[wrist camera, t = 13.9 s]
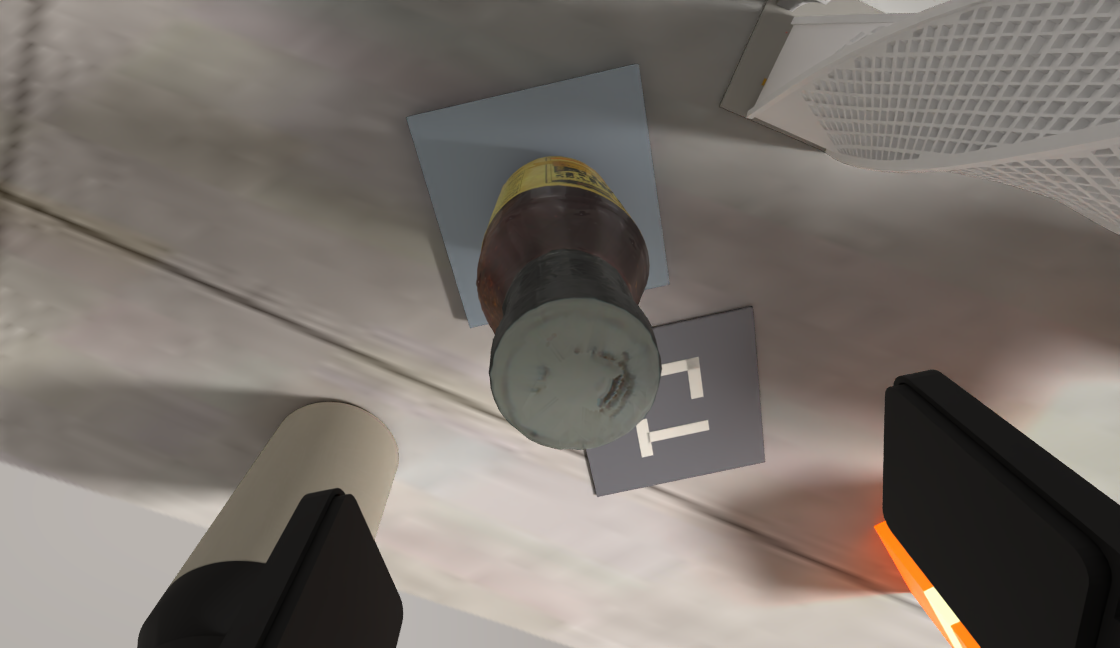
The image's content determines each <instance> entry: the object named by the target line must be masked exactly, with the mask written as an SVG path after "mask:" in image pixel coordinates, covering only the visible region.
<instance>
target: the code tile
mask: <svg viewBox="0 0 1120 648" xmlns="http://www.w3.org/2000/svg"><path fill="white" fill-rule="evenodd" d="M652 329H653V332H654V335H655V338H656V342H657V346H658V351H659V353H660V356H661V363H662V372H661V378H660V383H659V388H658V391H657V394H656V398H655V401H654V403H653V405H652V407H651V409H650V411H649V412H648V413H647V415H646V416H645V418H644V419H643V420H642V421H641V422H640V423H639V424H637V425H636V426H635V427H634V428H633V429H632V430H631V431H630V432H629V433H627V434H625V435H624V436H622V437H620V438H618V439H616V440H615V441H613V442H611V443H609V444H606V445H603V446H600V447H597V448H592V449H586V451H587V455H588V460H589V464H590V468H591V473H592V477H593V481H594V485H595V490H596V494H597V497H599V496H604V495H609V494H614V493H619V492H624V491H628V490H633V489H638V488H643V487H648V486H652V485H657V484H662V483H667V482H672V481H677V480H681V479H686V478H691V477H696V476H701V475H705V474H710V473H715V472H720V471H725V470H730V469H734V468H739V467H744V466H749V465H754V464H758V463H763V462H765V454H764V441H763V428H762V416H761V403H760V390H759V377H758V365H757V352H756V339H755V327H754V314H753V307H752V306H750V307H745V308H741V309H736V310H732V311H727V312H722V313H718V314H713V315H708V316H704V317H699V318H695V319H690V320H685V321H681V322H676V323H671V324H667V325H662V326H658V327H653V328H652Z"/></svg>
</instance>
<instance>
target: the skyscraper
mask: <svg viewBox="0 0 1120 648" xmlns="http://www.w3.org/2000/svg"><path fill="white" fill-rule="evenodd" d="M719 107H722V108H724V109H726V110H729V111H731V112H733V113H736V114H738V115H740V116H743V117H745V118H747V119H750V120H752V121H754V122H757V123H759V124H761V125H764V126H766V127H769V128H771V129H773V130H776V131H778V132H780V133H783V134H785V135H787V136H790V137H792V138H794V139H797V140H799V141H801V142H804V143H806V144H809V145H811V146H813V147H816V148H818V149H820V150H823V151H825V153H826V154H828V155H829V156H831V157H833V158H834V159H836V160H838V161H840V162H842V163H845V164H848V165H851V166H855V167H859V168H863V169H868V170H875V171H882V172H898V173H902V172H933V171H946V172H952V173H958V174H963V175H969V176H974V177H978V178H983V179H987V180H991V181H995V182H1000V183H1003V184H1007V185H1010V186H1014V187H1018V188H1021V189H1024V190H1027V191H1031V192H1034V193H1037V194H1040V195H1043V196H1046V197H1049V198H1051V199H1054V200H1057V201H1059V202H1061V203H1063V204H1064V205H1066V206H1068V207H1069V208H1071V209H1072V210H1074V211H1076V212H1078V213H1079V214H1081V215H1083V216H1085V217H1087V218H1088V219H1090V220H1092V221H1094V222H1095V223H1097V224H1099V225H1101V226H1103V227H1104V228H1106V229H1108V230H1110V231H1112V232H1114V233H1116V234H1118V235H1120V0H950V1H948V2H945V3H942V4H940V5H937V6H934V7H932V8H929V9H926V10H924V11H921V12H919V13H888V14H886V13H883V12H881V11H879V10H877V9H875V8H873V7H871V6H869V5H867V4H865V3H863V2H861V1H859V0H767V2H766V4H765V6H764V9H763V11H762V13H761V15H760V17H759V20H758V22H757V24H756V26H755V28H754V31H753V33H752V35H751V37H750V39H749V42H748V44H747V46H746V48H745V51H744V53H743V55H742V57H741V59H740V62H739V64H738V66H737V68H736V70H735V73H734V75H733V77H732V79H731V81H730V84H729V86H728V88H727V90H726V93H725V95H724V97H723V99H722V101H721V104H720V106H719Z"/></svg>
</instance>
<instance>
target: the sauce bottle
mask: <svg viewBox="0 0 1120 648" xmlns="http://www.w3.org/2000/svg"><path fill="white" fill-rule="evenodd" d="M649 268H650V263H649V255H648V250H647V246H646V243H645V240H644V238H643V236H642V234H641V232H640V230H639V228H638V226H637V225H636V224H635V222H634V221H633V219H632V218H631V216H630V215H629V214H628V212H627V211H626V210H625V208H624V207H623V205H622V204H621V203H620V201H619V200H618V199H617V198H616V196H615V195H614V193H613V192H612V191H611V190H610V188H609V187H608V185H607V184H606V183H605V181H604V180H603V179H602V177H601V176H600V175H599V174H598V173H597V172H596V171H595V170H594V169H592V168H591V167H589V166H588V165H586V164H585V163H583V162H581V161H579V160H576V159H572V158H568V157H562V156H548V157H543V158H538V159H536V160H533V161H531V162H529V163H527V164H525V165H524V166H522V167H521V168H519V169H518V170H517V171H516V172H514V173H513V174H512V175H511V176H510V178H509V179H508V180H507V182H506V183H505V184H504V185H503V187H502V189H501V192H500V195H499V197H498V200H497V203H496V205H495V208H494V210H493V213H492V216H491V218H490V221H489V224H488V227H487V230H486V232H485V235H484V239H483V242H482V247H481V254H480V258H479V262H478V267H477V280H476V286H477V292H478V298H479V301H480V304H481V309H482V311H483V313H484V315H485V317H486V320H487V322H488V323H489V325H490V327H491V328H492V329H493V332H494V334H495V337H494V339H493V343H492V349H491V357H490V367H489V376H490V385H491V390H492V394H493V397H494V400H495V402H496V404H497V406H498V409H499V411H500V412H501V414H502V415H503V416H504V418H505V419H506V420H507V421H508V422H509V423H510V424H511V425H512V426H514V427H515V428H516V429H517V430H518V431H520V432H521V433H522V434H523V435H524V436H526V437H527V438H528V439H530V440H531V441H534V442H536V443H538V444H540V445H543V446H547V447H551V448H555V449H560V450H561V449H576V450H581V449H592V448H597V447H600V446H603V445H606V444H609V443H611V442H613V441H615V440H616V439H618V438H620V437H622V436H624V435H625V434H627V433H629V432H630V431H631V430H632V429H633V428H634V427H635V426H636V425H637V424H639V423H640V422H641V421H642V420H643V419H644V418H645V416H646V415H647V413H648V412H649V411H650V409H651V407H652V405H653V403H654V401H655V398H656V394H657V391H658V388H659V383H660V378H661V372H662V363H661V356H660V353H659V351H658V346H657V342H656V338H655V335H654V332H653V329H652V327H651V324H650V322H649V320H648V319H647V317H646V316H645V314H644V313H643V312H642V310H641V309H640V307H639V306H638V304H639V301H640V299H641V296H642V294H643V292H644V290H645V287H646V285H647V281H648V277H649Z"/></svg>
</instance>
